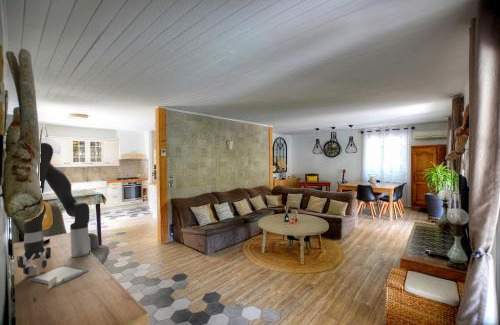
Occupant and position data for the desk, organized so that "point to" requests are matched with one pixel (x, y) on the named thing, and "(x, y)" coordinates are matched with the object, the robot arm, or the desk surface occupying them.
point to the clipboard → (60, 275)
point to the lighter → (34, 268)
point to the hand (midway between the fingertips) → (35, 270)
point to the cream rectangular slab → (52, 282)
